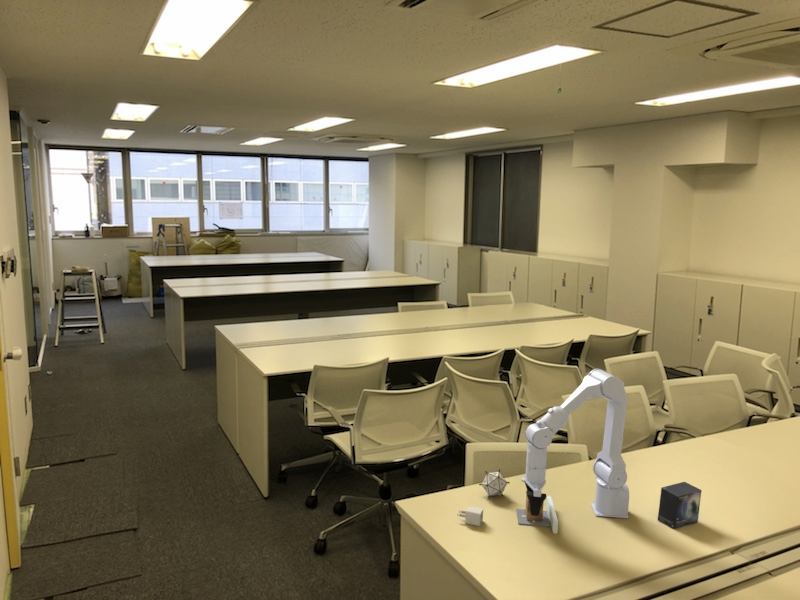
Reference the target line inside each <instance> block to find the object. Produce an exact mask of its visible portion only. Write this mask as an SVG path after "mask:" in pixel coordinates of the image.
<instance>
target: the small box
mask: <svg viewBox="0 0 800 600" xmlns="http://www.w3.org/2000/svg"><path fill="white" fill-rule="evenodd" d="M702 491H703V490H702V489H700V488H698V487H696V486H694V485H692V484H690V483H688V482H686V481H682V482H679V483H675V484H673V483H672V484H670V485H666V486H663V487H660V495H659V497H660V498H659V507H658V514H657V521H659V522H660V523H663V524H664V525H666V526H668V528H671V529H673V530H676V529H680V528H682V527H686V526H687V527H688V526H689V525H693V524H697V523H698V522H699V517H700V516H699V514H700V505H701V497H702Z"/></svg>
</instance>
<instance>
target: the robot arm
mask: <svg viewBox="0 0 800 600" xmlns="http://www.w3.org/2000/svg"><path fill="white" fill-rule="evenodd" d="M627 394H628V393H627V392H626V390H625V382H624V381H623V380H622V379H620V378H619V377H618V376H615V375H613V374H611V373H609V372H606V371H605V370H604V369H601V368H594V369H592V370H591V371H589V373H588V374H586V375H585V376H584V377H583V379H582V382H581V383H580V385H578V387H577V388H576V389H575V390H574V391H573V392H572V393H571V394H570V395H569V396H568V398H566V400H565V401H564V402H562V403H561V405H560V406H557V405H556V406H553V407H550V408H549V409H548V410H547V412H546V414H544V415H543V416H542V417H541V418H540V419H539V420H536V422H535V423H531V424H530V425H528V426H527V428H526V430H525V431H524V432H523V433H524V434H523V436H524V438H525V439H526V441H527V442H526V446H527V447H526V458H525V459H526V460H525V462H526V463H525V477H524V476H523V477H521V478H520V480H521V483H524V485H525V487H526V490H525V494H527V497H528V499H529V503H530V512H531V515H533V516H538V515H539V513H540V509H541V506H542V504H543V505H544V503H543V502H545V500H547V494H546V493H542V491H543V490H544V487H545V485H546V484H547V483H546V482H547V480H546V474H547V473H546V472H547V470H546V469H547V457H548V446H550V445H551V443H552V441H553V438H554V436H555V434H557V433H558V431H560V430H561V429H562V428H563V427H564V426H565V425H566V424H568V422H569V416H570V415H571V414H572V413H573V412H575V411H576V410H577V409H578V408H580V406H582V405H583V404H585V403H586V402H587V401H588V400H589V399H603V398H604V399H605V400H606V401H607V404H606V414H605V423H604V431H603V441H602V449H601V451H599V452H598V453H597V454H596V459H595V461H594V462H593V464H592V465H593V466H592V471H593V473H594V474H595V479H596V483H595V497H594V502H590V506H591V507H592V510H593V513H594V515H595V516H596V517H603V518H604V517H605V518H606V517H608V518H620V519H628V518H629V504H630V490H629V486H628V484H626V483H627V481H628V473H627V471H626V466H627V465H626V462H625V460H624V458H623V456H622V451H623V450H622V449H623V442H624V433H625V432H624V431H625V425H626V418H627V417H626V416H627V408H628V400H629V398H628V395H627Z"/></svg>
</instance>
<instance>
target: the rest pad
mask: <svg viewBox="0 0 800 600" xmlns="http://www.w3.org/2000/svg"><path fill="white" fill-rule="evenodd" d="M525 510H526V508H525V509H524V508H516V511H515V512H516V516H517V523H518V525H521V526H522V525H523V526H532V527H533V526H534V527H535V526H536V527H547V528H550V527H551V523H550V519H549V515H548V511H547V510H543V519H542V521H533V520H527V519H526V513H525Z"/></svg>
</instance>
